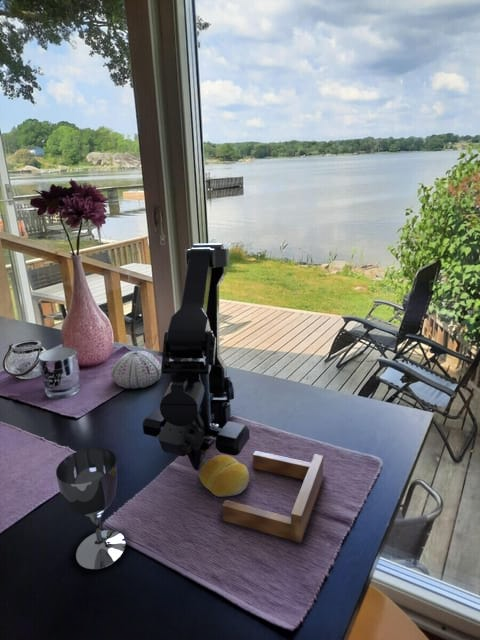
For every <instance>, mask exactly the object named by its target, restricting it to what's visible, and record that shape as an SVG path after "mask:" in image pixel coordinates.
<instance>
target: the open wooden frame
mask: <svg viewBox="0 0 480 640" xmlns="http://www.w3.org/2000/svg"><path fill="white" fill-rule="evenodd" d="M252 468H253V469H256V470H260V471H264V472H268V473H273V474H277V475H281V476H286V477H290V478H294V479H298V480H303V482H302V485H301V487H300V489H299V492H298V495H297V497H296V500H295V502H294V505H293V507H292V510H291V513H290V516H289V515H284V514H280V513H276V512H272V511H269V510H265V509H261V508H258V507H254V506H251V505H246V504H243V503H240V502H235V501H231V500H228V499H225V500H224V502H223V504H222V505H221V509H222V510H221V512H222V521H224V522H227V523H230V524H234V525H237V526H240V527H245V528H248V529H251V530H255V531H257V532H258V531H259V532H262V533H265V534H269V535H271V536H276V537H279V538H283V539H287V540H289V541H293V542H297V543H302V541H303V538H304V535H305V533H306V529H307V527H308V524H309V521H310V517H311V515H312V512H313V509H314V506H315V503H316V500H317V497H318V494H319V491H320V488H321V486H322V482H323V480H324V455H322V454H318V453H314V454H313V457H312V459H311V462H310V461H305V460H301V459H297V458H291V457H286V456H282V455H277V454H274V453H269V452H265V451H259V450H254V452H253V454H252Z"/></svg>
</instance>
